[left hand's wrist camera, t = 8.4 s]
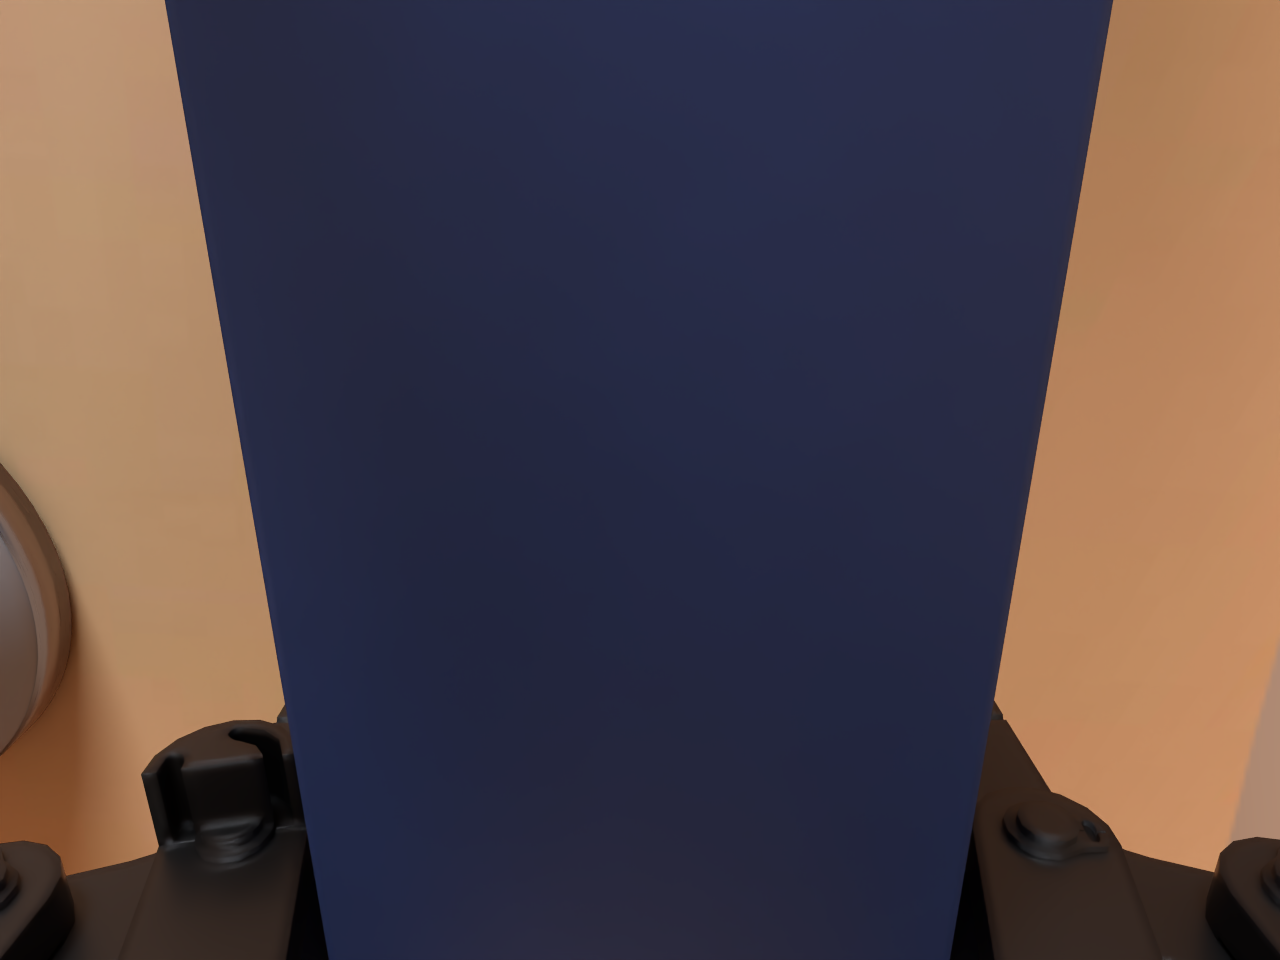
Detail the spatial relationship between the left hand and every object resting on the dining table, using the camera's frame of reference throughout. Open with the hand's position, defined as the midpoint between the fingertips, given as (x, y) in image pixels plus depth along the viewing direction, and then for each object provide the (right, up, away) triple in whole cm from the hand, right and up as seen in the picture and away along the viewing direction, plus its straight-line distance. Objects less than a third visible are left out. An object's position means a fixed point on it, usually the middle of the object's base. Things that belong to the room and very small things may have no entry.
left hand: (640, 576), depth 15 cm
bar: (0, +7, -2) cm, 7 cm away
